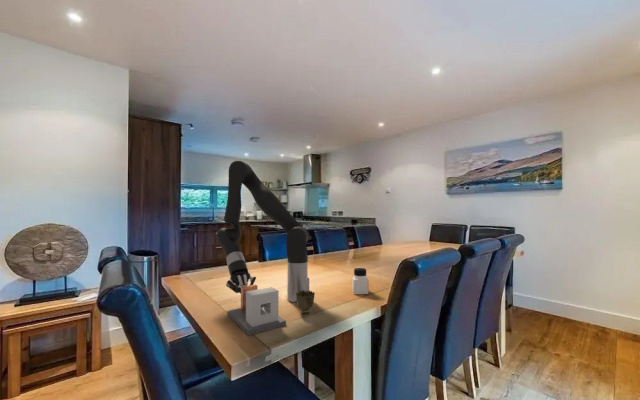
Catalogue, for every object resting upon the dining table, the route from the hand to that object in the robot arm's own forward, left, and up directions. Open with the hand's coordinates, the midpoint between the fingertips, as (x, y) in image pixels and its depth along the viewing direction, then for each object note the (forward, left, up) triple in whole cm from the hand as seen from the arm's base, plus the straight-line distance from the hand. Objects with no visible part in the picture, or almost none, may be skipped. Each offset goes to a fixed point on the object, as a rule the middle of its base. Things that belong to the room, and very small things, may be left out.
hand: (246, 300), depth 112 cm
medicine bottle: (-56, +7, -5) cm, 57 cm away
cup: (-19, +14, -5) cm, 24 cm away
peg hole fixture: (0, +9, -5) cm, 10 cm away
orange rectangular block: (0, +7, -3) cm, 8 cm away
